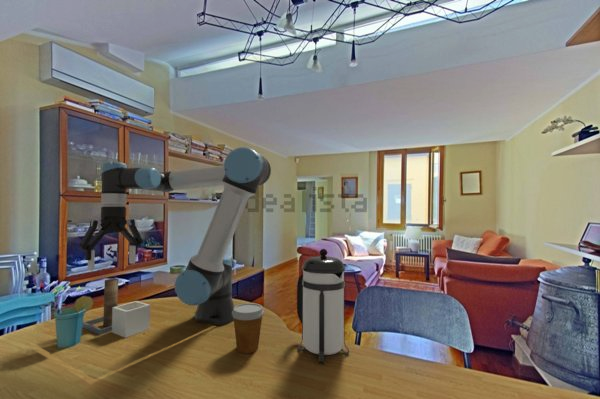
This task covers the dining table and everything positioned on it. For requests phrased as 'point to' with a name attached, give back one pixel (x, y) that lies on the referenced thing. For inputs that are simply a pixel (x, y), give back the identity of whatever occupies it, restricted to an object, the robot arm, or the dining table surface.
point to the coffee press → (322, 305)
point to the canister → (130, 318)
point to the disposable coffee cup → (247, 326)
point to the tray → (89, 326)
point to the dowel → (110, 300)
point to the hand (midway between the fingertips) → (112, 266)
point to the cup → (70, 321)
